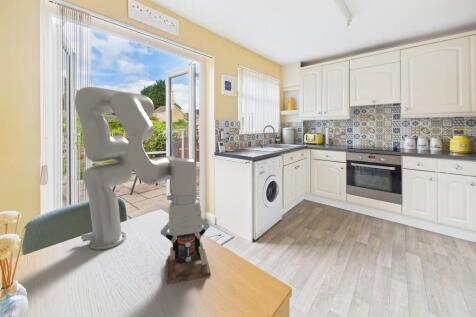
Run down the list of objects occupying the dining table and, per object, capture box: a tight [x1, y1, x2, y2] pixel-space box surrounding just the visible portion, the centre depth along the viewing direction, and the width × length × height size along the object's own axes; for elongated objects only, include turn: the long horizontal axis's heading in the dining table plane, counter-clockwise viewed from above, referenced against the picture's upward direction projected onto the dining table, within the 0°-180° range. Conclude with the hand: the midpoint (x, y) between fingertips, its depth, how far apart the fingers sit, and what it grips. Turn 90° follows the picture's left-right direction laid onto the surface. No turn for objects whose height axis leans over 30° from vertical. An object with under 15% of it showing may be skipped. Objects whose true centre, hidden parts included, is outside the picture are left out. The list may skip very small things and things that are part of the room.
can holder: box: [166, 241, 212, 285], centre depth 69 cm, size 13×13×4 cm
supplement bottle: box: [176, 233, 196, 264], centre depth 68 cm, size 6×6×11 cm
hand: (186, 249), depth 69 cm, fingers closed on supplement bottle, 5 cm apart
